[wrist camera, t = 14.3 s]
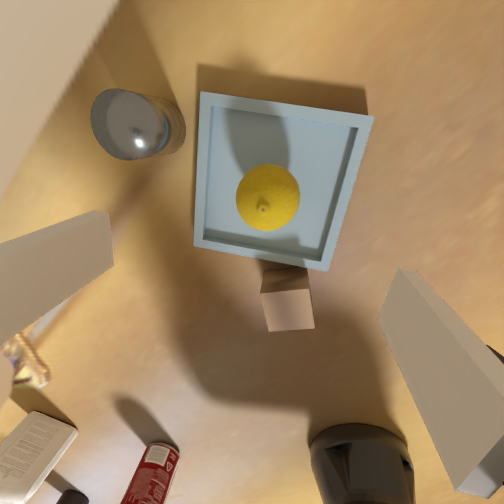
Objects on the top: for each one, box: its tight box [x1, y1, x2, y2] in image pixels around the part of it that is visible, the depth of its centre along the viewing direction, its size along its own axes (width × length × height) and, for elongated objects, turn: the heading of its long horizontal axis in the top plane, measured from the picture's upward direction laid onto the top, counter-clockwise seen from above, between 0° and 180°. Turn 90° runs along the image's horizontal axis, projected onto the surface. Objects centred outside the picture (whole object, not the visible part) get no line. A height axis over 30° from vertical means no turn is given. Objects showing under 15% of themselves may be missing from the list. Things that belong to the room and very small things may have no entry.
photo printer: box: [0, 411, 78, 504], centre depth 47 cm, size 10×4×12 cm, turn 68°
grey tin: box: [91, 89, 186, 160], centre depth 24 cm, size 5×5×7 cm
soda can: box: [120, 442, 180, 504], centre depth 46 cm, size 7×7×12 cm
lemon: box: [236, 164, 300, 231], centre depth 23 cm, size 6×6×8 cm
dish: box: [193, 91, 375, 272], centre depth 27 cm, size 15×15×2 cm
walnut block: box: [260, 267, 315, 332], centre depth 30 cm, size 5×5×5 cm
